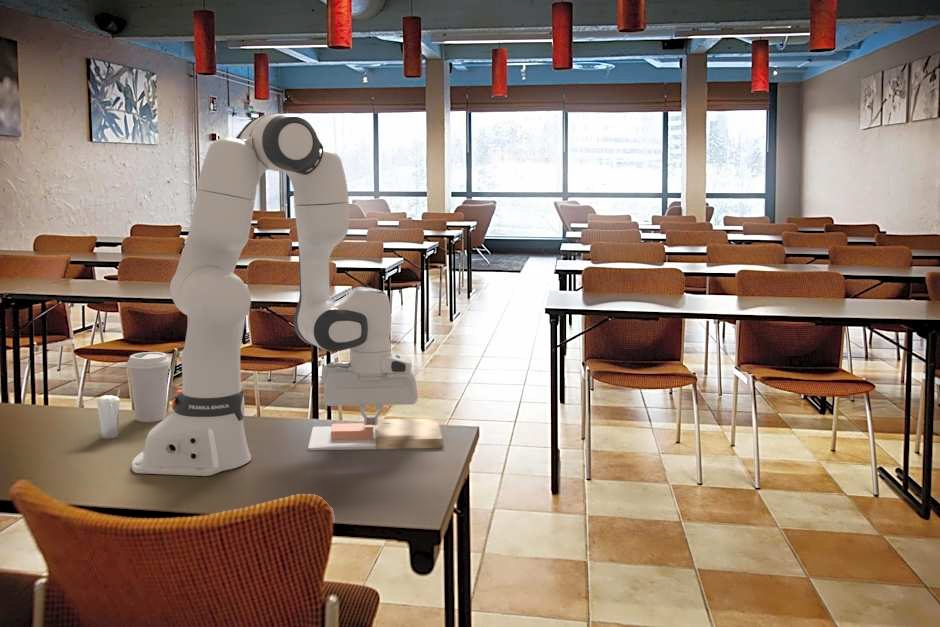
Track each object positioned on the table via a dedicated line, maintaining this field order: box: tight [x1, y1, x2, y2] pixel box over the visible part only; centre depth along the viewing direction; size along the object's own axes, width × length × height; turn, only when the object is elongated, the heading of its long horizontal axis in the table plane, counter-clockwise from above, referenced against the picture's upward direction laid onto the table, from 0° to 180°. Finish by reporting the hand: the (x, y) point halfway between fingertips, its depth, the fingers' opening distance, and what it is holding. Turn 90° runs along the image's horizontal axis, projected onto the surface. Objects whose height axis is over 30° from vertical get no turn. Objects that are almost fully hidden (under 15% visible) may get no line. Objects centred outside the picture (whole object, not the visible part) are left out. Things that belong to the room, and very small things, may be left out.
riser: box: [375, 417, 443, 450], centre depth 199 cm, size 14×16×2 cm
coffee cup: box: [126, 351, 171, 423], centre depth 210 cm, size 10×10×15 cm
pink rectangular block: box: [331, 422, 374, 440], centre depth 198 cm, size 9×6×2 cm, turn 96°
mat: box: [307, 425, 377, 451], centre depth 198 cm, size 14×16×1 cm
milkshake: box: [96, 388, 121, 440], centre depth 196 cm, size 5×5×10 cm
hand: (370, 424), depth 198 cm, fingers closed
